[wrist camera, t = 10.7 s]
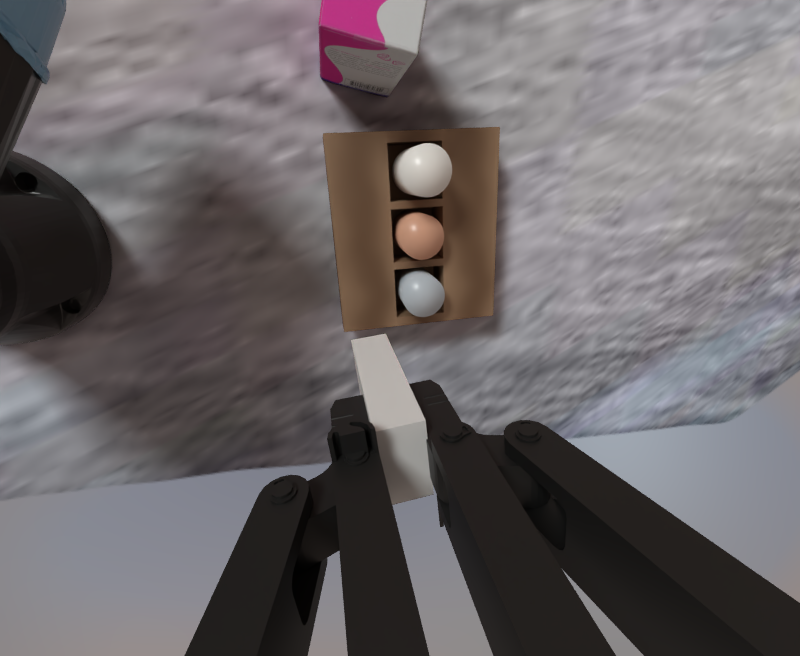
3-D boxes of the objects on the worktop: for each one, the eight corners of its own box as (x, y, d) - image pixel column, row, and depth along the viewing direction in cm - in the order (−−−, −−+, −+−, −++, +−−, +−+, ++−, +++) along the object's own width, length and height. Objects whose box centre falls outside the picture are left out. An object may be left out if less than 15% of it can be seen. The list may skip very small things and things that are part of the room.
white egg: (393, 196, 34) (404, 198, 29) (390, 148, 32) (401, 144, 28) (435, 193, 34) (452, 195, 30) (434, 146, 33) (452, 141, 28)
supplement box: (402, 16, 32) (443, -63, 21) (388, 99, 34) (418, 63, 23) (329, -8, 31) (333, -105, 20) (318, 79, 32) (317, 32, 22)
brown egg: (392, 251, 37) (401, 261, 33) (389, 211, 36) (399, 216, 32) (429, 248, 38) (444, 257, 33) (429, 208, 37) (443, 213, 32)
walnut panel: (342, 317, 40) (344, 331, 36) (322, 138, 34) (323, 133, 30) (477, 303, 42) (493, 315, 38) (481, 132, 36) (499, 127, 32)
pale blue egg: (395, 303, 39) (404, 319, 35) (393, 266, 38) (402, 278, 33) (431, 299, 40) (444, 314, 35) (430, 263, 38) (444, 274, 34)
